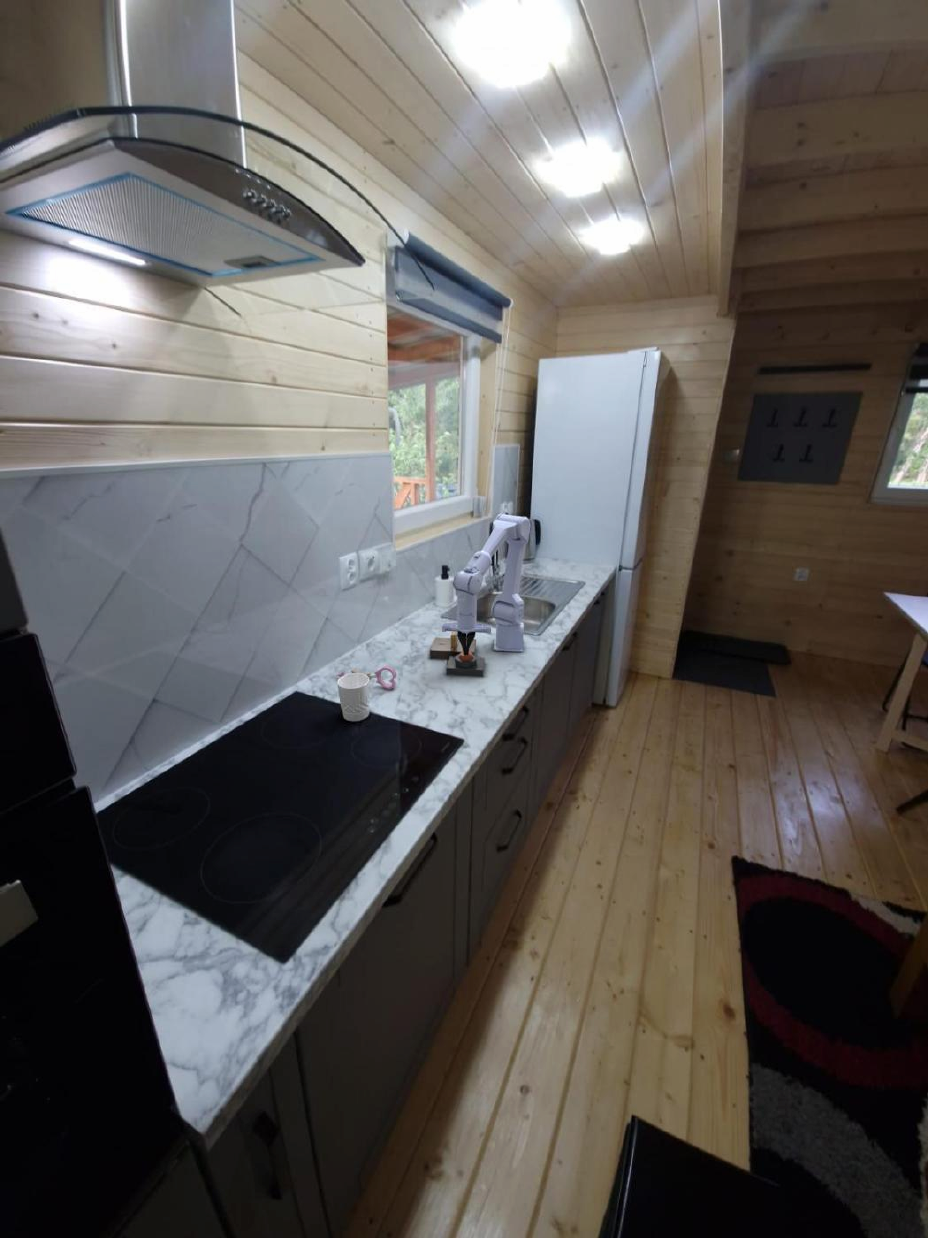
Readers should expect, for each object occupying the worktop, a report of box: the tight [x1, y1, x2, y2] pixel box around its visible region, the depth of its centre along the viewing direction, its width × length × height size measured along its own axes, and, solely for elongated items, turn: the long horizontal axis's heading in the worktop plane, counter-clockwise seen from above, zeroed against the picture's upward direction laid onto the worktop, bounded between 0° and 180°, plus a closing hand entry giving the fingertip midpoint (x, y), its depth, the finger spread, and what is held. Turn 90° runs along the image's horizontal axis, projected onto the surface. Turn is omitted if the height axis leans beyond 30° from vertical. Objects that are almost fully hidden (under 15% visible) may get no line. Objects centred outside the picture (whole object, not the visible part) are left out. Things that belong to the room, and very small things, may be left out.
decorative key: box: [335, 665, 397, 690], centre depth 142 cm, size 7×1×20 cm
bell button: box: [460, 652, 472, 661], centre depth 150 cm, size 4×4×2 cm
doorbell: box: [446, 654, 486, 677], centre depth 151 cm, size 11×8×4 cm
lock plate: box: [429, 636, 477, 660], centre depth 161 cm, size 14×10×3 cm
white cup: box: [336, 672, 371, 722], centre depth 126 cm, size 8×8×10 cm
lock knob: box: [450, 631, 458, 647], centre depth 160 cm, size 5×2×4 cm, turn 175°
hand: (466, 653), depth 149 cm, fingers closed
